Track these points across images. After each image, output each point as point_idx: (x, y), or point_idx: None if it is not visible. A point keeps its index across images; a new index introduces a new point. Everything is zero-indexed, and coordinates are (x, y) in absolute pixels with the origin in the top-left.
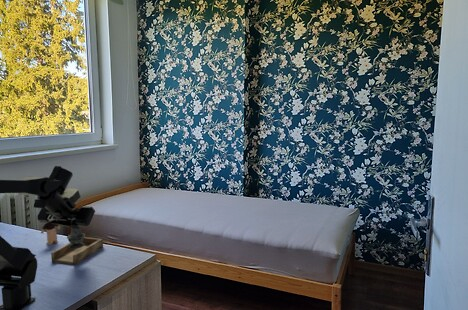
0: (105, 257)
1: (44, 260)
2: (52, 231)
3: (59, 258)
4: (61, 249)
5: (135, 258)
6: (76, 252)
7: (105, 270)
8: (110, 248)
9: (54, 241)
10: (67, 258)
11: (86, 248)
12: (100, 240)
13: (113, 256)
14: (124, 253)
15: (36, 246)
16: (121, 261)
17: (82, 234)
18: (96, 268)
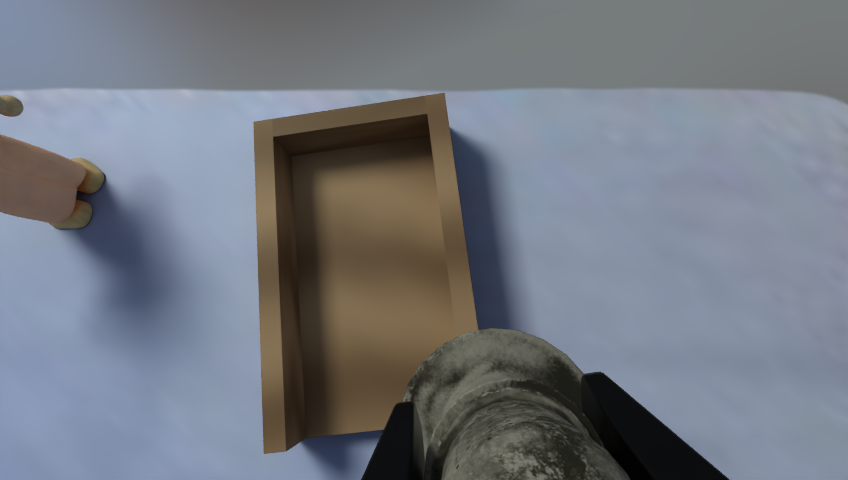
0: (583, 241)
1: (228, 433)
2: (3, 172)
3: (330, 409)
4: (284, 356)
5: (787, 178)
6: (365, 281)
7: (750, 408)
8: (503, 118)
9: (81, 186)
10: (384, 388)
11: (469, 283)
12: (447, 118)
13: (621, 208)
14: (653, 144)
15: (16, 276)
16: (736, 251)
17: (568, 397)
18: (665, 405)
